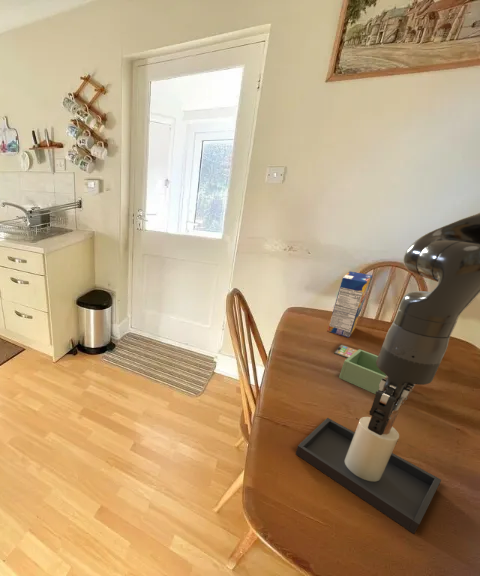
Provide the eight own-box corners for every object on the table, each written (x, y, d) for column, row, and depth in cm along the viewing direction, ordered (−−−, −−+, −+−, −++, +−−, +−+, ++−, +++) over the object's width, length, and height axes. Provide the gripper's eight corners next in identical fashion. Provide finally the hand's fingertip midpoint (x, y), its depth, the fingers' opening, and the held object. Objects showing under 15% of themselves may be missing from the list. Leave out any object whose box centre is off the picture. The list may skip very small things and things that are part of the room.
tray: (436, 488, 62) (441, 479, 61) (414, 534, 54) (419, 524, 53) (324, 425, 77) (327, 417, 76) (295, 454, 69) (297, 445, 68)
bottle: (385, 471, 64) (413, 410, 59) (374, 487, 61) (402, 424, 56) (351, 451, 69) (373, 393, 63) (339, 464, 66) (361, 404, 60)
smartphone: (392, 376, 95) (393, 372, 94) (333, 355, 105) (334, 352, 105) (396, 365, 100) (398, 362, 99) (340, 347, 110) (341, 344, 110)
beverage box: (326, 331, 121) (342, 277, 113) (334, 322, 128) (349, 271, 120) (348, 337, 116) (366, 282, 108) (355, 328, 123) (372, 275, 115)
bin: (398, 386, 90) (407, 366, 88) (385, 401, 85) (393, 380, 82) (353, 367, 99) (359, 348, 97) (338, 379, 93) (344, 360, 91)
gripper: (429, 375, 48) (393, 456, 54) (451, 347, 56) (417, 420, 62) (369, 353, 54) (342, 428, 60) (397, 330, 62) (370, 399, 68)
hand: (380, 424), depth 61 cm, fingers open, 5 cm apart
